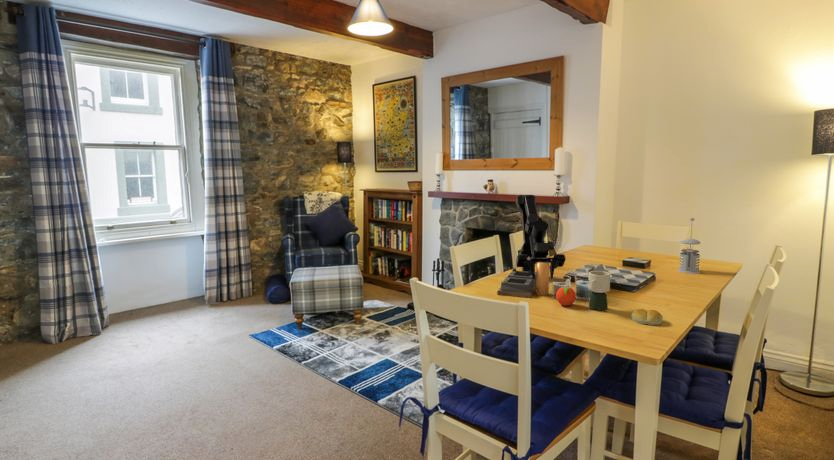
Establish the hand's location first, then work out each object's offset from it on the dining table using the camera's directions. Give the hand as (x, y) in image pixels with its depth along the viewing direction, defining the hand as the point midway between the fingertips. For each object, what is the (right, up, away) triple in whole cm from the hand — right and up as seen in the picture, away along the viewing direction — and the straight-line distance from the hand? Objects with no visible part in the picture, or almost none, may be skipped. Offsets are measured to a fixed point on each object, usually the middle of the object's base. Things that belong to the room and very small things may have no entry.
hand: (543, 278), depth 181 cm
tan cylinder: (0, -6, +2) cm, 7 cm away
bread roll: (+26, -11, -31) cm, 41 cm away
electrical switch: (+25, -5, +10) cm, 28 cm away
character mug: (+15, -9, -17) cm, 24 cm away
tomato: (+5, -9, -13) cm, 16 cm away
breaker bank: (-7, -5, +12) cm, 14 cm away
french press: (+77, 0, +34) cm, 84 cm away
